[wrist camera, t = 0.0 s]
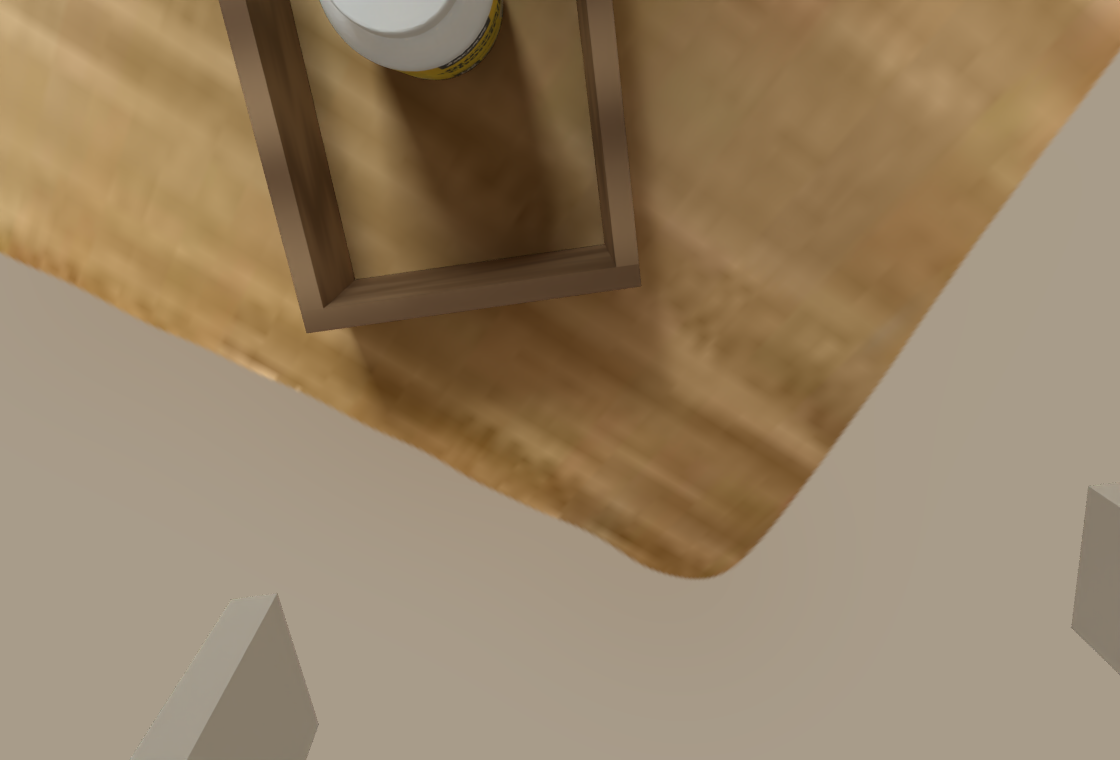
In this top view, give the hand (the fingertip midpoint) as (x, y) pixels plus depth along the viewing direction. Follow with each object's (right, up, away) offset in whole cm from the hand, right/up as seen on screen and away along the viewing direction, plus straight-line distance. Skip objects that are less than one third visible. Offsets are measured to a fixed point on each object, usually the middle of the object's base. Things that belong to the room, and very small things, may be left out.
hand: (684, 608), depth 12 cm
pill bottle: (-8, +21, +22) cm, 32 cm away
